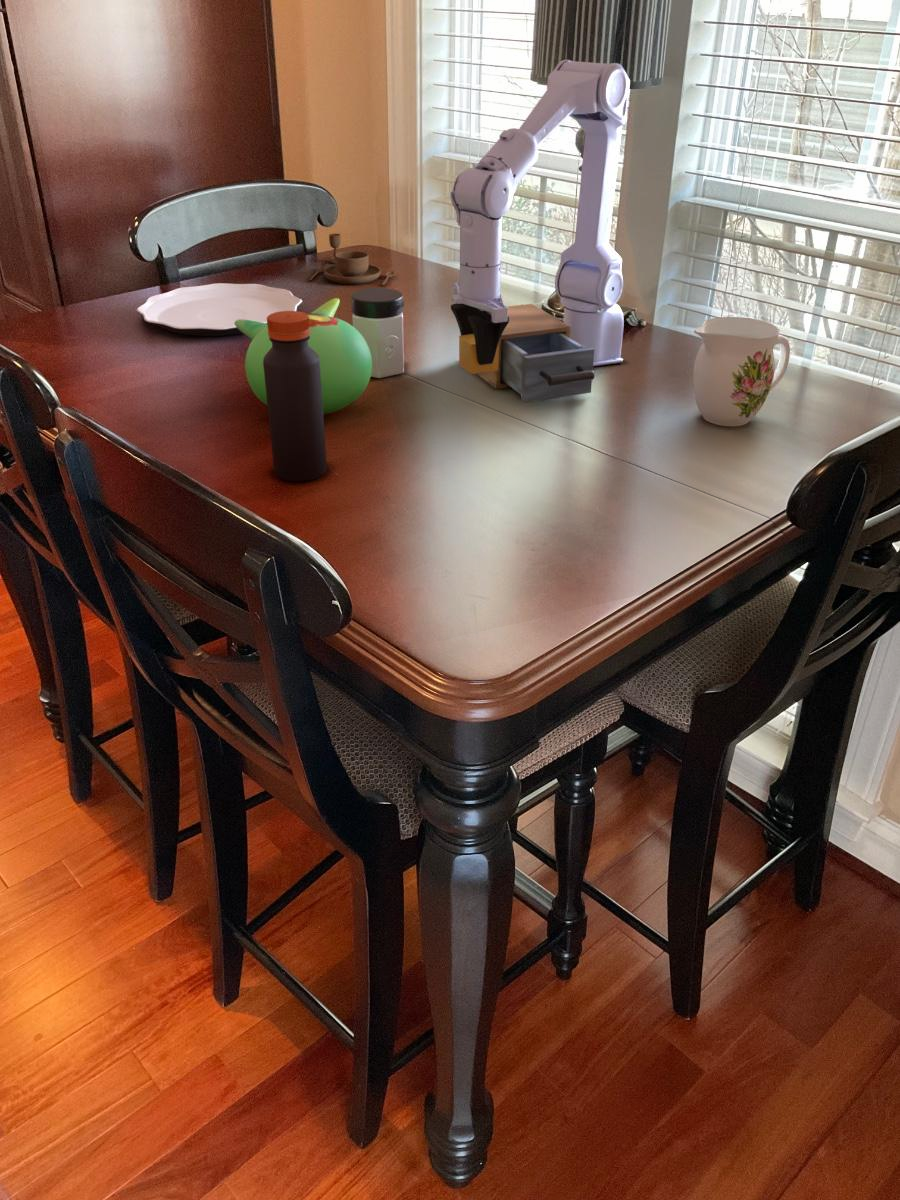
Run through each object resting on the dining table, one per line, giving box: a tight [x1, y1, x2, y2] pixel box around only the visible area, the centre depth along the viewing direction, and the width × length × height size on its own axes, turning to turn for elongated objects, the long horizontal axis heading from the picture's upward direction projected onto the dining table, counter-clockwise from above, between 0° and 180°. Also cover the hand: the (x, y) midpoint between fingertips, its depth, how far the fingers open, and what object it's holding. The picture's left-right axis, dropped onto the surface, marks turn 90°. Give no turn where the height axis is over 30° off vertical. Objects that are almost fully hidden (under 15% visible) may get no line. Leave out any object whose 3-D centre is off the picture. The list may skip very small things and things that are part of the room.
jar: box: [350, 287, 405, 379], centre depth 155 cm, size 9×8×12 cm
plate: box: [136, 282, 303, 337], centre depth 182 cm, size 29×29×2 cm
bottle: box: [263, 310, 328, 483], centre depth 120 cm, size 7×7×20 cm
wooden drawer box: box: [476, 303, 570, 390], centre depth 156 cm, size 13×12×8 cm
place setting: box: [308, 233, 396, 286], centre depth 208 cm, size 18×20×6 cm
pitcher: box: [692, 316, 791, 427], centre depth 139 cm, size 11×18×14 cm, turn 117°
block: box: [458, 334, 499, 375], centre depth 143 cm, size 4×4×4 cm
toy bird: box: [234, 297, 372, 416], centre depth 140 cm, size 18×17×15 cm
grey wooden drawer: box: [500, 332, 595, 403], centre depth 147 cm, size 16×11×7 cm
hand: (478, 358), depth 143 cm, fingers closed on block, 4 cm apart
